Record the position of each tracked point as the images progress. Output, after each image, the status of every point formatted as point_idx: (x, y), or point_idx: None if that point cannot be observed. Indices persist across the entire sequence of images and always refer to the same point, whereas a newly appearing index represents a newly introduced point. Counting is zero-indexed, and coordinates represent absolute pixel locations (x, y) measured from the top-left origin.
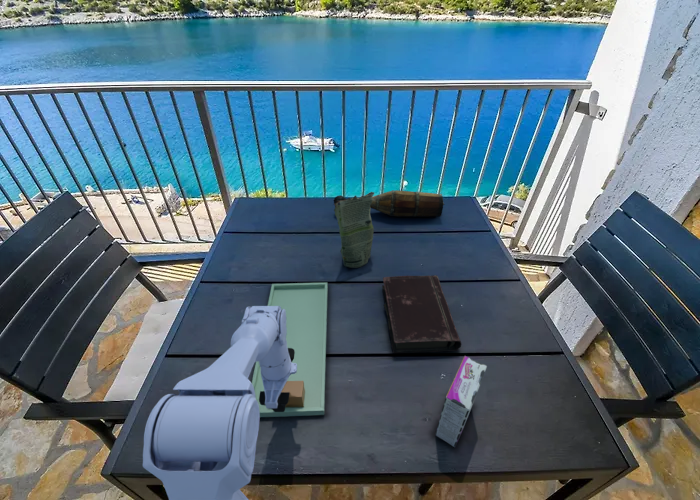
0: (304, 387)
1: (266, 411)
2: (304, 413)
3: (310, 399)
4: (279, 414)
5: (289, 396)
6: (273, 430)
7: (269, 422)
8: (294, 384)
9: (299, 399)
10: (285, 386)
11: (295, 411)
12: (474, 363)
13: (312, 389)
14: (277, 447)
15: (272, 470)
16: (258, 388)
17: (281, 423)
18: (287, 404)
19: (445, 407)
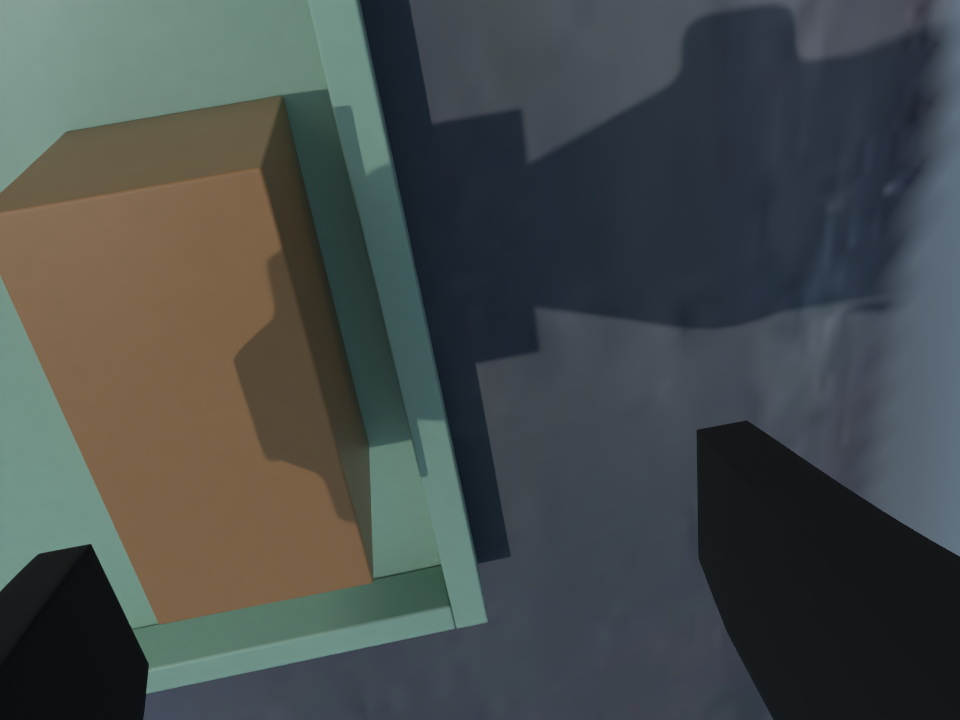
0: (40, 157)
1: (447, 474)
2: (371, 62)
3: (157, 28)
4: (429, 336)
5: (297, 343)
6: (563, 329)
7: (494, 387)
8: (91, 331)
9: (277, 186)
10: (165, 435)
11: (395, 184)
12: None
13: (6, 34)
14: (714, 245)
15: (902, 226)
16: None
17: (490, 280)
18: (323, 298)
19: None
